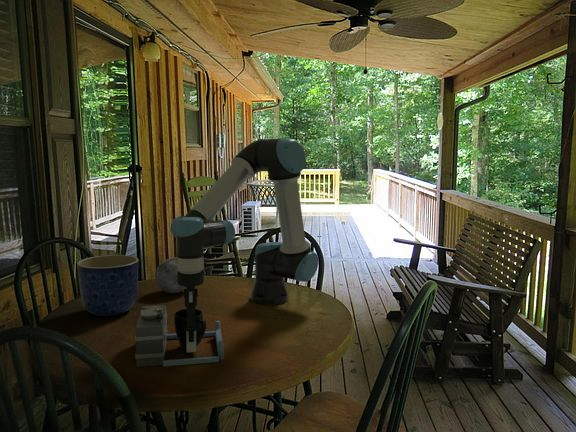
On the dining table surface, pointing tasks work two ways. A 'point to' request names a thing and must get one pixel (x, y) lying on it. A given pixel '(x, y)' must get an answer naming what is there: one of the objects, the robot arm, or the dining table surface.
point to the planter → (108, 283)
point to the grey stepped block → (151, 336)
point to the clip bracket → (204, 359)
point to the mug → (181, 324)
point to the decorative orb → (168, 276)
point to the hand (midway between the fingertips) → (191, 344)
